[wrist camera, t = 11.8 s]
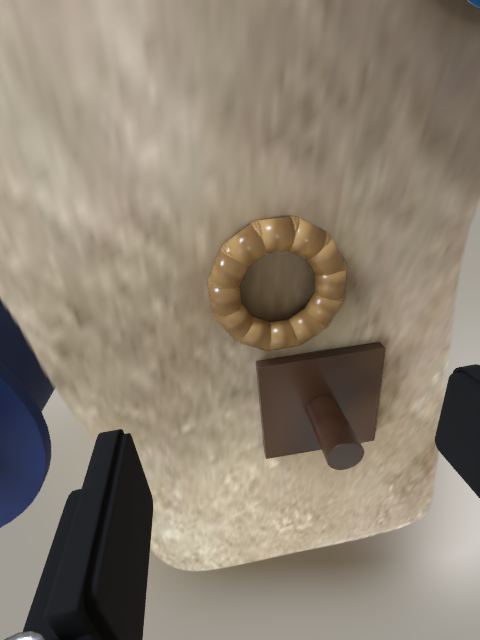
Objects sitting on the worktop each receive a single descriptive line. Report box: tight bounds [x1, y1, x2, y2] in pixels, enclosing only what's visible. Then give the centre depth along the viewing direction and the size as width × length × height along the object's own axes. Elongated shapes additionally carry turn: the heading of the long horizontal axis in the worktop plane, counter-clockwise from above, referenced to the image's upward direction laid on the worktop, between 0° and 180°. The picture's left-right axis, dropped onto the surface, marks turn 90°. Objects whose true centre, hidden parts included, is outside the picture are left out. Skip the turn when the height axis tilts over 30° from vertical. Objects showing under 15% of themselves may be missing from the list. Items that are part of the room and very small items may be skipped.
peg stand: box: [256, 342, 385, 470], centre depth 23 cm, size 9×9×5 cm
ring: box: [208, 216, 347, 351], centre depth 20 cm, size 8×8×2 cm
